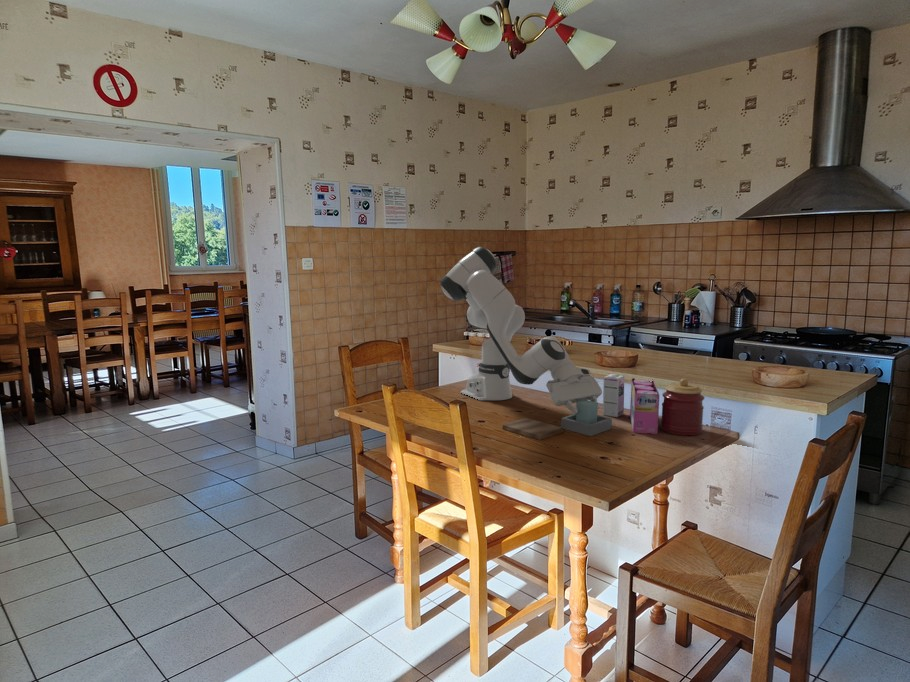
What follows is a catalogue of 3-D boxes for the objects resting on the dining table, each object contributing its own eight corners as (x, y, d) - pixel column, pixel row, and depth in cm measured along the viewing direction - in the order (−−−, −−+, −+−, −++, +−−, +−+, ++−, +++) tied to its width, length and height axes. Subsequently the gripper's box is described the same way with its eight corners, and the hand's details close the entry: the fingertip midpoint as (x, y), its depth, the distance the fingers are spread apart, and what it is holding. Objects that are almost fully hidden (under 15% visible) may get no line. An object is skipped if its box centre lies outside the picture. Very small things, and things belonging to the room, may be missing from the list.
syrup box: (617, 417, 209) (619, 378, 206) (602, 415, 212) (603, 376, 210) (623, 414, 213) (625, 375, 211) (608, 411, 217) (609, 373, 214)
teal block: (575, 428, 197) (576, 402, 195) (584, 425, 200) (585, 399, 198) (588, 431, 193) (589, 405, 192) (596, 428, 196) (597, 402, 195)
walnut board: (502, 429, 196) (502, 424, 196) (525, 421, 204) (525, 417, 204) (539, 440, 185) (539, 435, 184) (562, 432, 193) (562, 427, 192)
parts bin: (561, 428, 197) (561, 418, 196) (581, 421, 205) (582, 411, 204) (591, 436, 188) (591, 425, 187) (611, 428, 196) (612, 418, 195)
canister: (674, 422, 203) (677, 372, 200) (710, 431, 192) (713, 379, 190) (652, 429, 195) (655, 377, 192) (688, 439, 185) (691, 384, 182)
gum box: (629, 413, 214) (630, 377, 212) (651, 414, 213) (653, 378, 211) (632, 432, 192) (634, 392, 189) (658, 434, 190) (660, 394, 188)
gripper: (548, 376, 194) (568, 411, 188) (592, 369, 205) (613, 402, 199) (539, 386, 199) (559, 421, 192) (583, 379, 210) (602, 411, 203)
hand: (586, 411), depth 195 cm, fingers open, 8 cm apart
